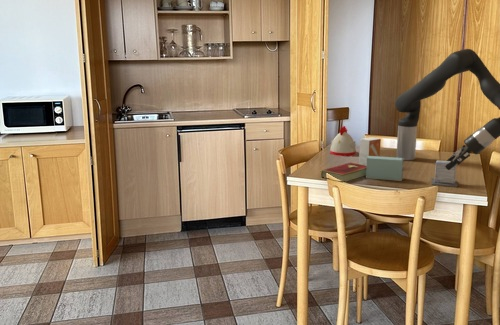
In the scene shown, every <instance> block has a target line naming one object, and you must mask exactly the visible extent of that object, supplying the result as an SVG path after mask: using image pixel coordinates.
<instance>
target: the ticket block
mask: <svg viewBox="0 0 500 325" xmlns="http://www.w3.org/2000/svg"><path fill="white" fill-rule="evenodd" d="M404 161H405V160H404V158H396V156H395V157H391V156H380V157H379V156H368V157H367V168H366V175H365V179H371V180H372V179H373V180H386V181H387V180H388V181H399V182H402V180H403V177H404V176H403V175H404Z"/></svg>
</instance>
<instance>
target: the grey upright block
mask: <svg viewBox="0 0 500 325" xmlns="http://www.w3.org/2000/svg"><path fill="white" fill-rule="evenodd" d="M450 162H451V161H446V160H436V161H435V169H434V179H435V182H440V183H453V184H455V180H456V173H457V172H456V170H457V165H455V166H454V167H453V168H451V169H450V170H448V169H447V168H446V167H445V166H446V165H447V164H448V163H450Z"/></svg>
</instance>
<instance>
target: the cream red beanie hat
mask: <svg viewBox="0 0 500 325" xmlns="http://www.w3.org/2000/svg"><path fill="white" fill-rule="evenodd" d="M356 145H357V144H356V141H354V139H353V137H352V135H350V134H349V133H348V128H347V127H346V126H345V125H343V126H341V127H340V129H339V133H337V135H336V136H335V137H334V139H331V142H330V148H329V149H330V150H329V153H330V155H332V156H340V157H350V156H355V155H356V153H357V149H356Z"/></svg>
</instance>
